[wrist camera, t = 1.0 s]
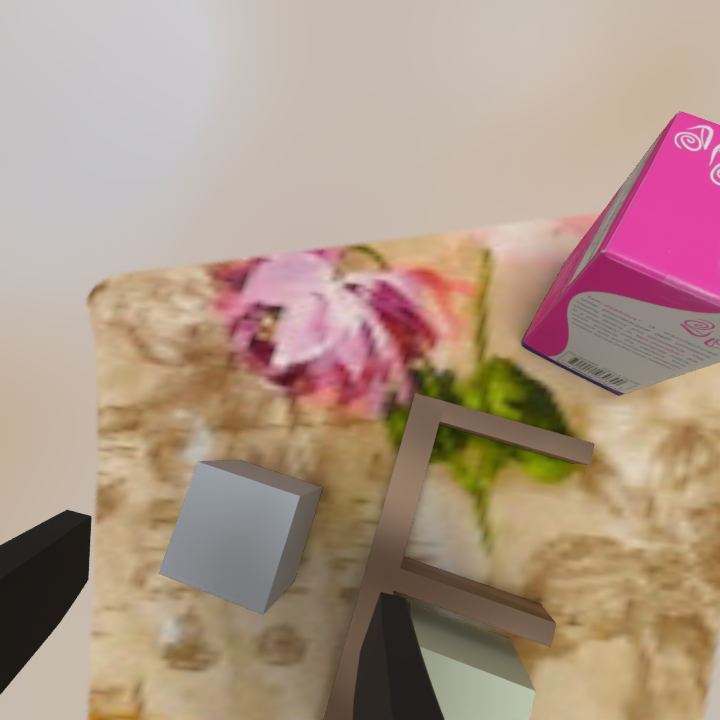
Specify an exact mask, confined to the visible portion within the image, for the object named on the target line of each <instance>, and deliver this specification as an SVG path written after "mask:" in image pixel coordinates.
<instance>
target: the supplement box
mask: <svg viewBox="0 0 720 720" xmlns="http://www.w3.org/2000/svg"><path fill="white" fill-rule="evenodd" d="M522 346H523V347H525V348H526V349H528V350H530V351H532V352H534V353H536V354H538V355H540V356H542V357H544V358H546V359H547V360H549V361H551V362H553V363H555V364H557V365H559V366H561V367H563V368H565V369H567V370H569V371H571V372H573V373H575V374H577V375H579V376H581V377H583V378H585V379H587V380H589V381H591V382H593V383H595V384H597V385H599V386H601V387H603V388H605V389H607V390H610V391H612V392H613V393H615V394H617V395H620V396H621V395H623V394H625V393H629V392H632V391H634V390H637V389H640V388H643V387H647V386H649V385H653V384H656V383H658V382H662V381H665V380H667V379H670V378H673V377H677V376H680V375H683V374H685V373H688V372H691V371H694V370H697V369H700V368H703V367H706V366H710V365H712V364H715V363H718V362H720V125H718V124H715V123H712V122H710V121H707V120H704V119H701V118H698V117H696V116H693V115H690V114H687V113H684V112H680V111H679V112H678V113H677V114H676V115H675V116H674V118H673V119H672V120H671V121H670V122H669V124H668V125H667V126H666V128H665V129H664V130H663V131H662V133H661V134H660V135H659V136H658V138H657V139H656V141H655V142H654V143H653V145H652V146H651V147H650V149H649V150H648V151H647V153H646V154H645V155H644V157H643V158H642V159H641V161H640V162H639V163H638V165H637V166H636V168H635V169H634V170H633V172H632V173H631V174H630V176H629V177H628V178H627V180H626V181H625V182H624V184H623V185H622V186H621V188H620V189H619V190H618V191H617V193H616V194H615V196H614V197H613V198H612V200H611V201H610V203H609V204H608V206H607V207H606V208H605V209H604V211H603V212H602V213H601V215H600V216H599V217H598V219H597V220H596V221H595V223H594V224H593V225H592V227H591V228H590V229H589V231H588V232H587V233H586V235H585V236H584V237H583V239H582V240H581V241H580V243H579V244H578V245H577V247H576V248H575V250H574V251H573V252H572V253H571V255H570V256H569V257H568V259H567V260H566V262H565V264H564V265H563V267H562V269H561V271H560V272H559V274H558V276H557V278H556V280H555V281H554V283H553V285H552V287H551V289H550V290H549V292H548V294H547V296H546V298H545V299H544V301H543V303H542V305H541V307H540V308H539V310H538V312H537V314H536V316H535V318H534V319H533V321H532V323H531V325H530V327H529V329H528V331H527V332H526V334H525V336H524V338H523V340H522Z"/></svg>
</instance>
